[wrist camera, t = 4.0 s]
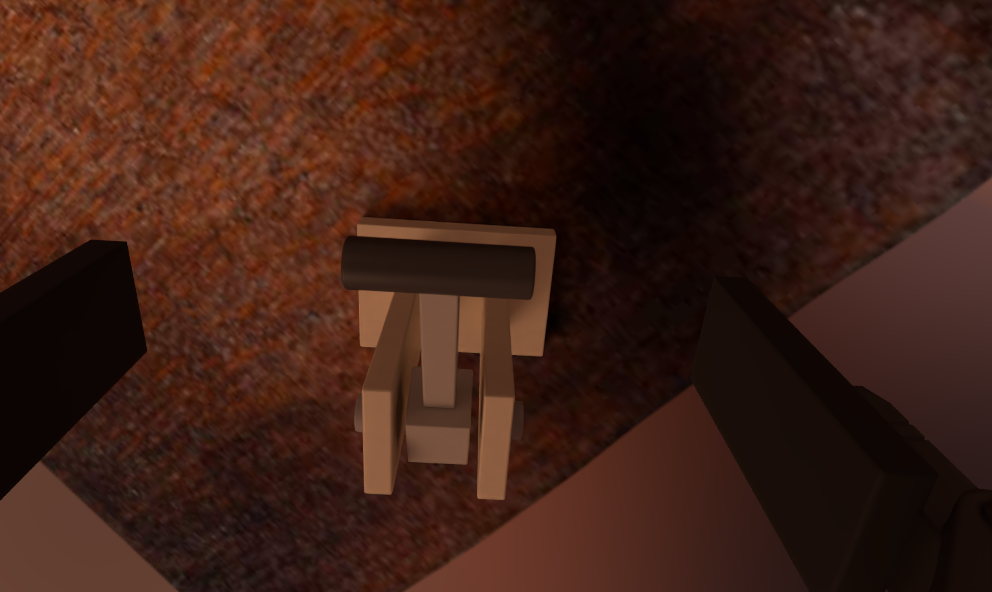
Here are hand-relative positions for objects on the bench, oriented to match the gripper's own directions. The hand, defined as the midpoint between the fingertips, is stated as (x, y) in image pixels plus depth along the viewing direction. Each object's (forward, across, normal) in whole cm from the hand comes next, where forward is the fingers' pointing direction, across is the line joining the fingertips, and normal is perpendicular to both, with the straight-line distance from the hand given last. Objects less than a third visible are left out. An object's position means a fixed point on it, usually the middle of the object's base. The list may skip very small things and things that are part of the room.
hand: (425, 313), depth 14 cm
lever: (+6, 0, -3) cm, 7 cm away
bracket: (+18, 0, -7) cm, 19 cm away
